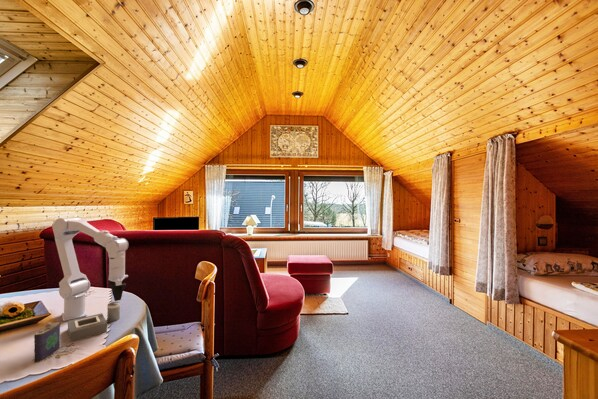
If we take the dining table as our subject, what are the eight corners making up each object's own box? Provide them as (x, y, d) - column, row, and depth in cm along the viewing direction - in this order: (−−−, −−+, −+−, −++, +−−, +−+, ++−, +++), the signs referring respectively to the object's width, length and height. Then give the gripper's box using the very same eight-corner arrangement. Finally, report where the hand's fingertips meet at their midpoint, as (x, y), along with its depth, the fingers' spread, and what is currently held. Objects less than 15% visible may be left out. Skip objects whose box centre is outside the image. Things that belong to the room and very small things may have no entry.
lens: (106, 319, 115) (106, 303, 115) (118, 316, 118) (118, 300, 118) (108, 322, 112) (108, 306, 112) (120, 319, 115) (121, 303, 115)
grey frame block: (67, 329, 105) (68, 320, 105) (101, 321, 113) (102, 312, 113) (70, 341, 97) (70, 331, 97) (106, 331, 104) (106, 322, 104)
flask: (53, 346, 93) (54, 316, 93) (63, 346, 94) (63, 316, 94) (31, 363, 84) (32, 329, 84) (41, 362, 84) (42, 329, 84)
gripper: (130, 268, 112) (129, 300, 112) (125, 262, 123) (125, 291, 123) (109, 271, 107) (109, 304, 107) (107, 264, 119) (106, 294, 119)
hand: (116, 297), depth 115 cm, fingers open, 7 cm apart
